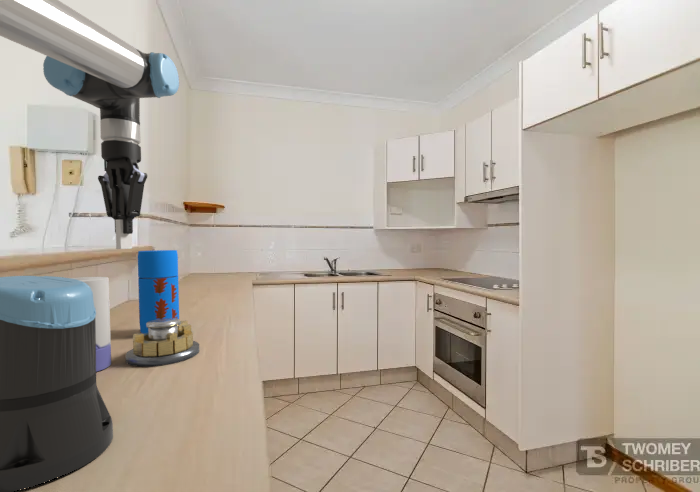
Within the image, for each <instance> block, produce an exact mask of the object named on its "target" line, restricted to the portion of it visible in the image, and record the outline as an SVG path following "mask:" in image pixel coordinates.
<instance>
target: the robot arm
mask: <svg viewBox="0 0 700 492" xmlns="http://www.w3.org/2000/svg"><path fill="white" fill-rule="evenodd" d="M0 37H2V38H4V39H7V40H9V41H11V42H14V43H16V44H18V45H21V46H23V47H24V48H28V49H30V50H32V51H34V52H37V53H40V54H42V55H44V56H45V58H44V60H43V65H42V66H43V69H42V70H43V76H44V78H45V80H46V81H47V83H49V85H51V86H52V87H53V88H55V89H56V90H58V91H61V92H62V93H64V94H65V95H66V96H70V97H73V98H75V99H76V100H80V101H81V102H85V103H86V104H89V105H92V106H93V107H96V108H97V109H99V116H100V121H99V122H100V123H99V125H100V139H101V140H102V142H101V143H100V149H101V151H100V152H101V153H100V154H101V159H102V160H104V161H106V166H105V174H103V175H98V176H97V180H98V182H99V184H100V187H101V192H102V196H103V202H104V207H105V212H106V216H107V217H108V218H112V219H113V221H114V234H115V249H116V250H126V249H127V250H128V249H133V231H134V230H133V229H134V228H133V227H134V225H133V220H134V219H135V218H136V217H140V215H141V210H142V203H143V196H144V190H145V189H144V188H145V183H146V181H147V179H148V173H147V172H142V171H141V170H140V169H139V168H140V167H139V165H138V164H139V163H141V161H142V148H141V146H140V144H141V122H140V121H141V119H140V118H141V117H140V116H141V115H140V113H141V112H140V111H141V110H140V99H143V98H144V99H147V98H148V99H151V98H152V99H153V98H157V99H160V98H162V97H169V96H170V97H171V96H174V95H175V94H176V93H178V91H179V86H180V82H179V80H180V79H179V77H180V76H179V72H178V69H177V66H176V65H175V63H174V61H173V60H172V59H171V58H170V56H168V55H167V54H166V53H162V52H148V53H145V52H142V51H141V50H139V49H137V47H135V46H133V45H131V44H129V43H128V42H126V41H125V40H123V39H121V38H120V37H118V36H117V35H115V34H113V33H112V32H111V31H108V30H107V29H105V28H104V27H102V26H100V25H99V24H97V23H96V22H94V21H92V20H91V19H89V18H87V17H86V16H84V15H83V14H81V13H80V12H78V11H77V10H74V9H73V8H72V7H70V6H69V5H66V4H65V3H63V2H62V1H60V0H0ZM71 278H72V277H63V276H62V277H61V276H54V275H53V276H51V275H43V276H42V275H41V276H40V275H39V276H37V275H14V276H11V275H10V276H0V492H14V491H15V492H18V491H17V490H19V491H23V490H25V489H24V488H27V489H29V488H28V487H31V488H34V487H36V486H35V485H38V484H41V483H44V482H47V481H49V480H52V479H54V478H57V477H60V476H62V475H64V476H66V475H68V473H69V474H71V473H73V472H75V471H77V470H78V469H81V468H82V467H84V466H86V465H87V464H89V463H91V462H92V461H93V460H95V459H97V457H99V456H100V455H101V454H103V453H104V452H105V451H106V450H107V449H108V448H109V446H110V445H111V443H112V442H113V438H114V428H113V427H114V426H113V425H114V422H113V419H112V416H111V414H110V412H109V410H108V407H107V406H106V403H105V401H104V399H103V397H102V395H101V393H100V390H99V388H98V385H97V384H98V383H97V372H96V326H95V316H96V309H95V307H94V301H93V292H92V290H91V288H90V287H89V286H88V285H87V284H86V283H84V282H82V281H79V280H76V279H71ZM76 469H77V470H76ZM74 470H75V471H74ZM72 471H73V472H72ZM70 472H71V473H70ZM65 474H66V475H65ZM62 477H63V476H62ZM60 478H61V477H60ZM57 479H58V478H57ZM52 481H53V480H52ZM49 482H50V481H49ZM47 483H48V482H47ZM44 484H45V483H44ZM41 485H42V484H41ZM33 486H34V487H33ZM38 486H39V485H38ZM20 489H21V490H20ZM22 489H23V490H22Z"/></svg>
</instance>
